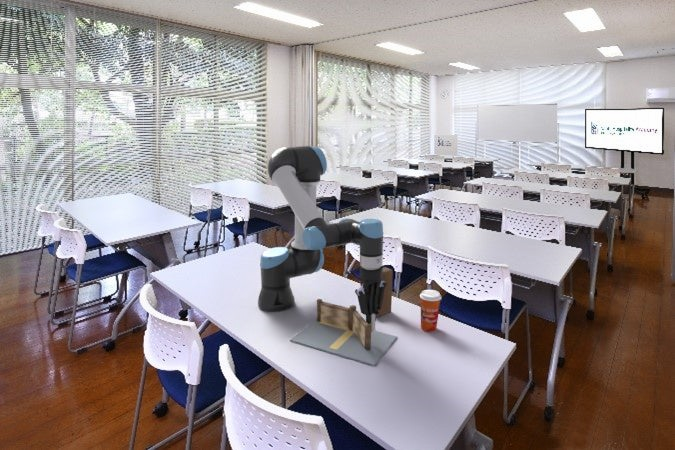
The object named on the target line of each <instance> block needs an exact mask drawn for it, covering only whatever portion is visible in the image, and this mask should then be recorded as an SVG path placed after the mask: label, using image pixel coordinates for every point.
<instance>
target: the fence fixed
mask: <svg viewBox="0 0 675 450" xmlns="http://www.w3.org/2000/svg"><path fill="white" fill-rule="evenodd" d="M353 311H357V305H354V304H353V305H349V307H348V306H343V305H338V304H335V303H330V302H326V301H323V299H321V298H319V299H316V319H317V322H323V323H327V324H331V325H335V326H339V327H342V328H346V329H349V330H351V331H353Z"/></svg>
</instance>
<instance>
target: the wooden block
mask: <svg viewBox="0 0 675 450" xmlns="http://www.w3.org/2000/svg"><path fill="white" fill-rule="evenodd" d="M393 275H394V272H393V269H391V268H389V267H386V266H384V267H383V276H382V278H381V279H382V281H384V282H386V283H387V285H386V287H385V289H384V295H383V300H382V306H381V310H378V312H379V314H376V318H377V317H380V316H383V315H386V314H390V313H392V304H393V303H392V300H393V299H392V298H393V297H392V296H393ZM377 306H378V305H377Z"/></svg>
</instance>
